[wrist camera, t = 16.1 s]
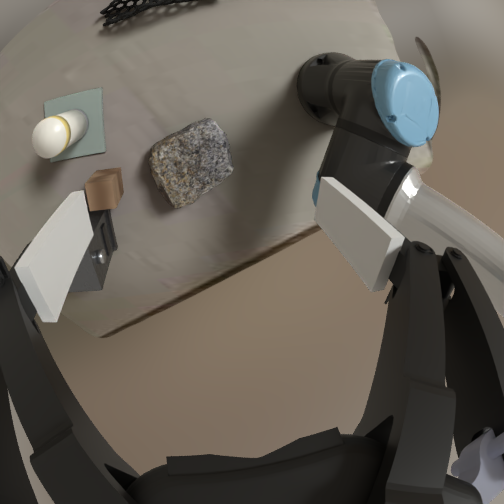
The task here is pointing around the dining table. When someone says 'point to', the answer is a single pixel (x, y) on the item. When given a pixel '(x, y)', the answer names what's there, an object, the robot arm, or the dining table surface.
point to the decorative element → (138, 8)
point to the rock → (191, 162)
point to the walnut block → (104, 189)
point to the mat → (94, 110)
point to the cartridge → (59, 132)
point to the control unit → (96, 254)
